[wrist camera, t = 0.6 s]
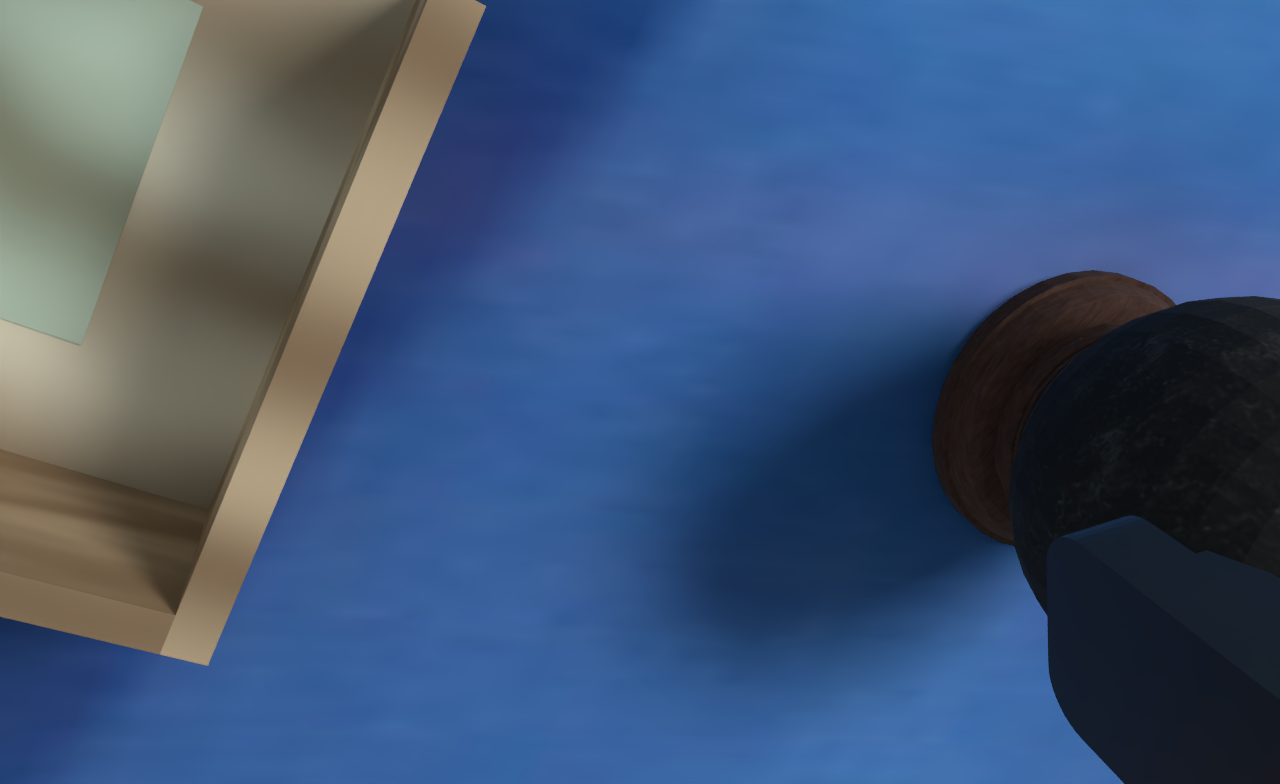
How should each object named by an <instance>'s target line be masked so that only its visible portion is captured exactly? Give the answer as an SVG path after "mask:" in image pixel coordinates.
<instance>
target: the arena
mask: <svg viewBox="0 0 1280 784" xmlns="http://www.w3.org/2000/svg"><path fill="white" fill-rule="evenodd" d="M485 8H486V6H485V5H483V4H481V3H479V2H477V1H475V0H0V617H4V618H8V619H12V620H17V621H21V622H25V623H29V624H33V625H38V626H42V627H46V628H50V629H55V630H59V631H63V632H67V633H72V634H76V635H80V636H84V637H88V638H93V639H97V640H101V641H105V642H110V643H114V644H118V645H122V646H126V647H131V648H135V649H139V650H143V651H148V652H152V653H156V654H160V655H164V656H169V657H173V658H177V659H181V660H186V661H190V662H194V663H198V664H203V665H207V666H208V664H209V661H210V659H211V657H212V654H213V652H214V649H215V647H216V645H217V642H218V640H219V638H220V635H221V633H222V630H223V628H224V626H225V623H226V621H227V619H228V616H229V614H230V612H231V609H232V607H233V604H234V602H235V600H236V597H237V595H238V593H239V590H240V588H241V585H242V583H243V581H244V578H245V576H246V574H247V571H248V569H249V567H250V564H251V562H252V559H253V557H254V555H255V552H256V550H257V548H258V545H259V543H260V540H261V538H262V536H263V533H264V531H265V529H266V526H267V524H268V522H269V519H270V517H271V514H272V512H273V510H274V507H275V505H276V503H277V500H278V498H279V496H280V493H281V491H282V488H283V486H284V484H285V481H286V479H287V477H288V474H289V472H290V469H291V467H292V465H293V462H294V460H295V458H296V455H297V453H298V451H299V448H300V446H301V443H302V441H303V439H304V436H305V434H306V432H307V429H308V427H309V424H310V422H311V420H312V417H313V415H314V413H315V410H316V408H317V406H318V403H319V401H320V398H321V396H322V394H323V391H324V389H325V387H326V384H327V382H328V379H329V377H330V375H331V372H332V370H333V368H334V365H335V363H336V361H337V358H338V356H339V353H340V351H341V349H342V346H343V344H344V342H345V339H346V337H347V335H348V332H349V330H350V327H351V325H352V323H353V320H354V318H355V316H356V313H357V311H358V308H359V306H360V304H361V301H362V299H363V297H364V294H365V292H366V290H367V287H368V285H369V282H370V280H371V278H372V275H373V273H374V271H375V268H376V266H377V263H378V261H379V259H380V256H381V254H382V252H383V249H384V247H385V245H386V242H387V240H388V237H389V235H390V233H391V230H392V228H393V226H394V223H395V221H396V218H397V216H398V214H399V211H400V209H401V207H402V204H403V202H404V200H405V197H406V195H407V192H408V190H409V188H410V185H411V183H412V181H413V178H414V176H415V173H416V171H417V169H418V166H419V164H420V162H421V159H422V157H423V155H424V152H425V150H426V147H427V145H428V143H429V140H430V138H431V136H432V133H433V131H434V129H435V126H436V124H437V121H438V119H439V117H440V114H441V112H442V110H443V107H444V105H445V102H446V100H447V98H448V95H449V93H450V91H451V88H452V86H453V84H454V81H455V79H456V76H457V74H458V72H459V69H460V67H461V65H462V62H463V60H464V57H465V55H466V53H467V50H468V48H469V46H470V43H471V41H472V39H473V36H474V34H475V31H476V29H477V27H478V24H479V22H480V20H481V17H482V15H483V12H484V10H485Z"/></svg>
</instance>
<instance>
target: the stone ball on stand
mask: <svg viewBox="0 0 1280 784" xmlns="http://www.w3.org/2000/svg"><path fill="white" fill-rule="evenodd" d="M932 444H933V453H934V461H935V468H936V471H937V474H938V477H939V480H940V483H941V485H942V488H943V491H944V492H945V494H946V495H947V497H948V498H949V500H950V501H951V503H952V504H953V506H954V508H955V509H956V510H957V511H958V512H959V513H960V514H961V515H963V516H964V517H965V518H966V519H967V520H968V521H969V522H970V523H971V524H973V525H974V526H975V527H976V528H977V529H979V530H980V531H981V532H982V533H984V534H986V535H988V536H990V537H992V538H994V539H995V540H997V541H999V542H1001V543H1005V544H1009V545H1013V546H1015V549H1016V552H1017V555H1018V558H1019V561H1020V564H1021V567H1022V570H1023V573H1024V575H1025V577H1026V579H1027V581H1028V583H1029V585H1030V587H1031V589H1032V591H1033V593H1034V595H1035V597H1036V599H1037V600H1038V602H1039V603H1040V605H1041V607H1042V608H1043V610H1044V611H1045V613H1046V614H1047V566H1046V561H1047V552H1048V548H1049V546H1050V544H1051V543H1052V541H1053V540H1055V539H1056V538H1058V537H1061V536H1064V535H1068V534H1071V533H1074V532H1077V531H1080V530H1084V529H1087V528H1090V527H1093V526H1096V525H1099V524H1103V523H1106V522H1109V521H1112V520H1115V519H1118V518H1122V517H1125V516H1130V515H1131V516H1138V517H1140V518H1143V519H1145V520H1147V521H1148V522H1150V523H1152V524H1153V525H1155V526H1156V527H1157V528H1159V529H1160V530H1162V531H1163V532H1165V533H1166V534H1168V535H1169V536H1171V537H1172V538H1174V539H1175V540H1176V541H1178V542H1179V543H1181V544H1182V545H1184V546H1185V547H1187V548H1188V549H1190V550H1191V551H1193V552H1194V553H1196V554H1197V553H1200V552H1203V551H1206V550H1207V551H1210V552H1213V553H1216V554H1219V555H1221V556H1224V557H1227V558H1230V559H1233V560H1236V561H1238V562H1241V563H1244V564H1247V565H1250V566H1252V567H1255V568H1258V569H1261V570H1264V571H1267V572H1269V573H1272V574H1274V575H1275V576H1277V577H1278V578H1280V299H1274V298H1266V297H1257V296H1249V297H1228V298H1215V299H1206V300H1198V301H1190V302H1185V303H1182V304H1179V305H1176V304H1175V303H1174V302H1173V301H1172V300H1171V299H1170V298H1169V297H1167V296H1166V295H1164V294H1163V293H1162V292H1160V291H1159V290H1158V289H1156V288H1155V287H1154V286H1151V285H1148V284H1146V283H1143V282H1141V281H1138V280H1135V279H1133V278H1130V277H1127V276H1124V275H1121V274H1118V273H1112V272H1103V271H1095V270H1091V271H1082V272H1073V273H1066V274H1063V275H1060V276H1057V277H1054V278H1051V279H1047V280H1044V281H1041V282H1039V283H1037V284H1036V285H1034V286H1032V287H1030V288H1028V289H1026V290H1025V291H1023V292H1021V293H1019V294H1017V295H1015V296H1014V297H1013V298H1011V299H1010V300H1009V301H1008V302H1006V303H1005V304H1004V305H1003V306H1001V307H1000V308H999V309H997V310H996V311H995V312H994V313H992V314H991V315H990V316H989V317H988V319H987V320H986V321H985V322H984V323H983V324H982V325H981V326H980V327H979V328H978V329H977V330H976V332H975V333H974V334H973V335H972V336H971V337H970V339H969V340H968V342H967V343H966V345H965V346H964V348H963V349H962V351H961V352H960V354H959V355H958V357H957V358H956V360H955V361H954V363H953V365H952V367H951V370H950V372H949V374H948V376H947V378H946V381H945V383H944V385H943V387H942V390H941V394H940V397H939V401H938V405H937V409H936V413H935V416H934V429H933V442H932ZM1047 616H1048V614H1047Z"/></svg>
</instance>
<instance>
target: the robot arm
mask: <svg viewBox="0 0 1280 784" xmlns="http://www.w3.org/2000/svg"><path fill="white" fill-rule="evenodd" d="M1046 566H1047V614H1048V662H1049V674H1050V679H1051V683H1052V687H1053V690H1054V693H1055V696H1056V698H1057V701H1058V703H1059V705H1060V707H1061V709H1062V711H1063V713H1064V715H1065V717H1066V718H1067V720H1068V721H1069V723H1070V725H1071V726H1072V727H1073V729H1074V730H1075V731H1076V733H1077V734H1078V735H1079V736H1080V737H1081V738H1082V739H1083V740H1084V742H1085V743H1086V744H1087V745H1088V746H1089V747H1090V748H1091V749H1092V750H1093V751H1094V752H1095V753H1096V754H1097V755H1098V756H1099V757H1100V758H1101V759H1102V761H1103V762H1104V763H1105V764H1106V765H1107V766H1108V767H1109V768H1110V769H1111V770H1112V771H1113V772H1114V773H1115V774H1116V775H1117V776H1118V777H1119V778H1120V780H1121V781H1122V782H1123V783H1124V784H1280V578H1278V577H1277V576H1275V575H1274V574H1272V573H1269V572H1267V571H1264V570H1261V569H1258V568H1255V567H1252V566H1250V565H1247V564H1244V563H1241V562H1238V561H1236V560H1233V559H1230V558H1227V557H1224V556H1221V555H1219V554H1216V553H1213V552H1210V551H1207V550H1206V551H1203V552H1200V553H1197V554H1196V553H1194V552H1193V551H1191V550H1190V549H1188V548H1187V547H1185V546H1184V545H1182V544H1181V543H1179V542H1178V541H1176V540H1175V539H1174V538H1172V537H1171V536H1169V535H1168V534H1166V533H1165V532H1163V531H1162V530H1160V529H1159V528H1157V527H1156V526H1155V525H1153V524H1152V523H1150V522H1148V521H1147V520H1145V519H1143V518H1140V517H1138V516H1131V515H1130V516H1125V517H1122V518H1118V519H1115V520H1112V521H1109V522H1106V523H1103V524H1099V525H1096V526H1093V527H1090V528H1087V529H1084V530H1080V531H1077V532H1074V533H1071V534H1068V535H1064V536H1061V537H1058V538H1056V539H1055V540H1053V541H1052V543H1051V544H1050V546H1049V548H1048V552H1047V561H1046Z"/></svg>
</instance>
